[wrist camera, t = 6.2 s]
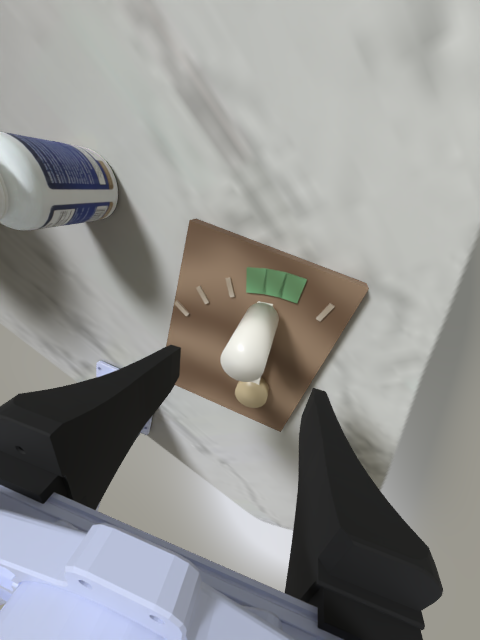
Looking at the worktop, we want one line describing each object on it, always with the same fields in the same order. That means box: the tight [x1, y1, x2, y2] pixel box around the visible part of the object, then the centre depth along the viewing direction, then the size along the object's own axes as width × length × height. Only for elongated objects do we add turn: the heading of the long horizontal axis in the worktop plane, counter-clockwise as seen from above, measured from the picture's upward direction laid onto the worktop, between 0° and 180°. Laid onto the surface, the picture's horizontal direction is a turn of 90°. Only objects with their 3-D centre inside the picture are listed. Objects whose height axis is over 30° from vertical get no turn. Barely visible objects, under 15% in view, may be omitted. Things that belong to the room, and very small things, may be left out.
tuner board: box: [166, 219, 369, 432], centre depth 23 cm, size 17×14×1 cm
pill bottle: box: [0, 131, 118, 230], centre depth 17 cm, size 5×5×10 cm
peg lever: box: [220, 301, 279, 408], centre depth 20 cm, size 11×3×7 cm, turn 174°
